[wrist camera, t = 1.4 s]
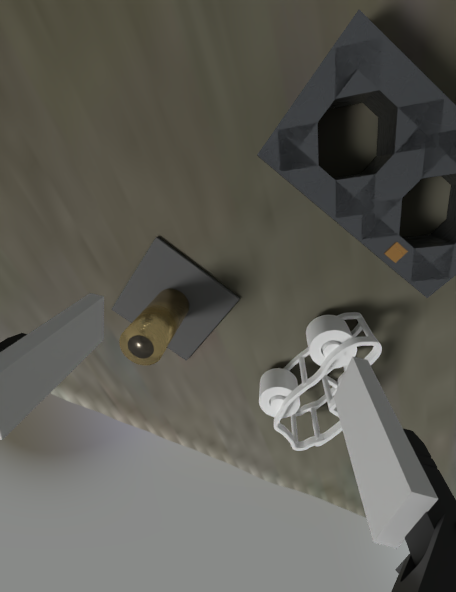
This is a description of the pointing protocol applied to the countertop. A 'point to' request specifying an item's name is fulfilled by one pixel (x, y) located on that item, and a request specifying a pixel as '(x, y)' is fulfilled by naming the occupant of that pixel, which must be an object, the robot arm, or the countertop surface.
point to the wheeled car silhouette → (315, 375)
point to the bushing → (154, 327)
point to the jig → (390, 151)
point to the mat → (185, 278)
